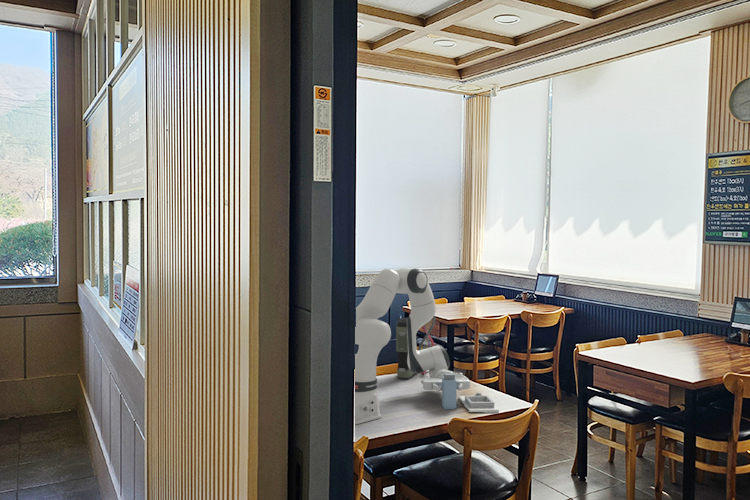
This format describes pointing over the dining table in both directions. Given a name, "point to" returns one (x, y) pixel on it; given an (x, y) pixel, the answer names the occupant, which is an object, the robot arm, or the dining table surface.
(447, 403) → the blue-gray rectangular block
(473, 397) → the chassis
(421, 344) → the dna model
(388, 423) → the dining table surface
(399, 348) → the device
